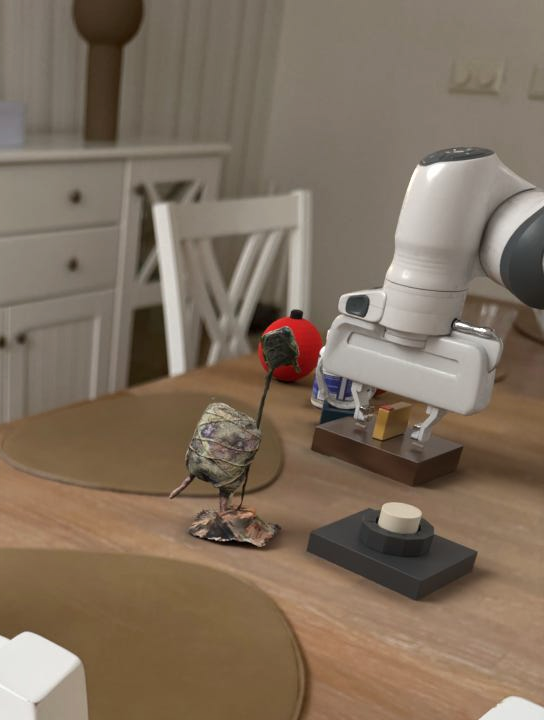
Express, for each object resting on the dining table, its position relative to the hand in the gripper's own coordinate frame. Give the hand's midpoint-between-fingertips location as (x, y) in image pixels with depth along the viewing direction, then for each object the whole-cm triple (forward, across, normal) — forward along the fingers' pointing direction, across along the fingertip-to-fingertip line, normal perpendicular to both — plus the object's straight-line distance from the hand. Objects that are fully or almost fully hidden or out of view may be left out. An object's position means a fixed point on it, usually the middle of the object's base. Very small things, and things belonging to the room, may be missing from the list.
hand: (390, 430), depth 116 cm
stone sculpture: (+4, -2, +32) cm, 32 cm away
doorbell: (+4, -16, +24) cm, 29 cm away
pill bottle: (+4, +16, -12) cm, 20 cm away
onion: (+4, +15, -21) cm, 26 cm away
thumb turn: (+1, 0, 0) cm, 1 cm away
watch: (+4, +10, -4) cm, 11 cm away
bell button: (0, -16, +24) cm, 29 cm away
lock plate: (+4, 0, 0) cm, 4 cm away
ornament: (+4, +27, -16) cm, 32 cm away
